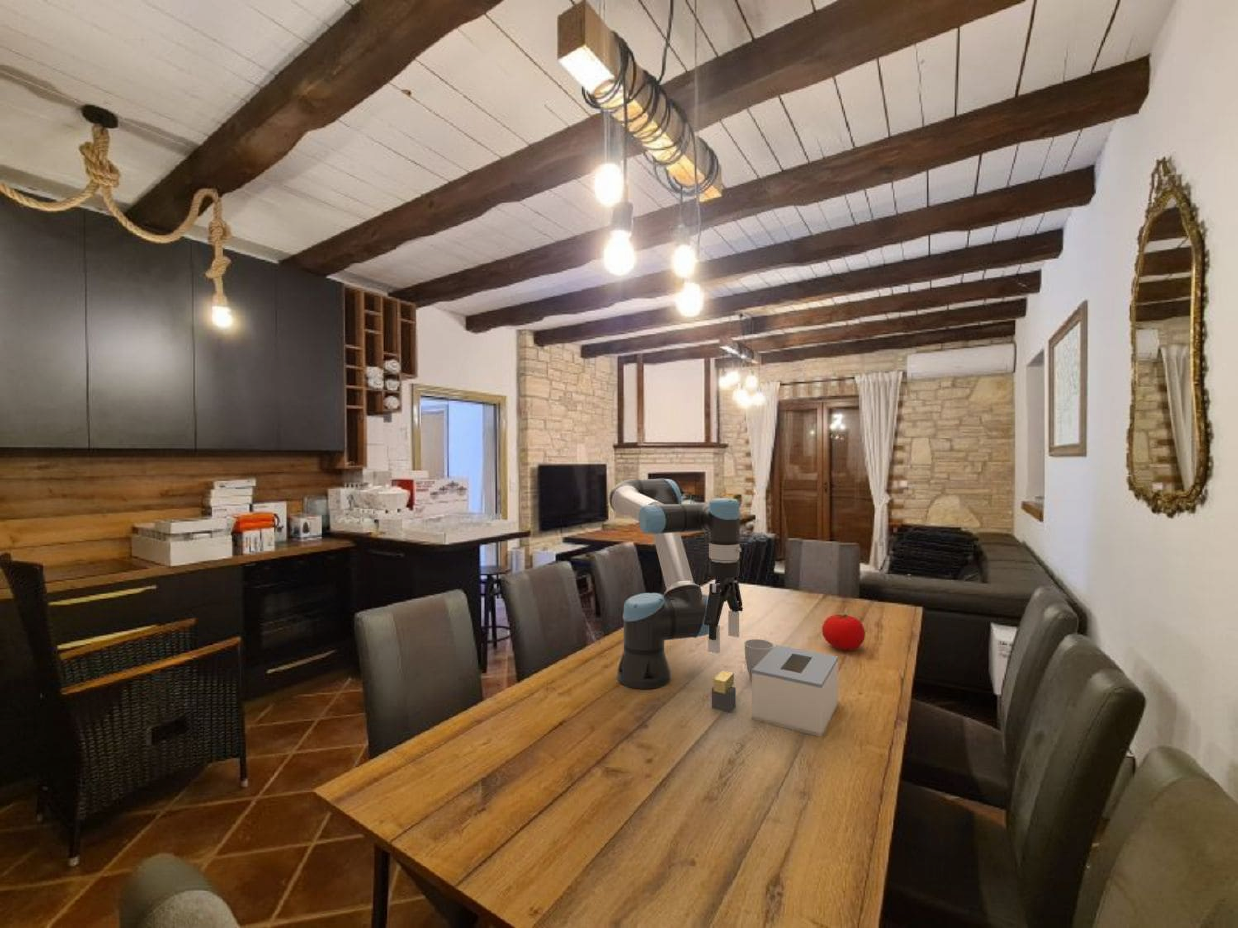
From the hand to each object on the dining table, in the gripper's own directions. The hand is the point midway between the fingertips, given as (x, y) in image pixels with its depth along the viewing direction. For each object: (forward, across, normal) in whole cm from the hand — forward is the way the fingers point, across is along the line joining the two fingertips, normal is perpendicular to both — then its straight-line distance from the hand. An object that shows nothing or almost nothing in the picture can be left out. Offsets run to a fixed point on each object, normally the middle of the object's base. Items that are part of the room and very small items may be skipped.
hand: (724, 643), depth 137 cm
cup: (+16, +22, -2) cm, 28 cm away
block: (+16, 0, 0) cm, 16 cm away
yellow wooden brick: (+11, 0, 0) cm, 11 cm away
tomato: (+16, +61, -18) cm, 66 cm away
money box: (+16, +8, -16) cm, 24 cm away
